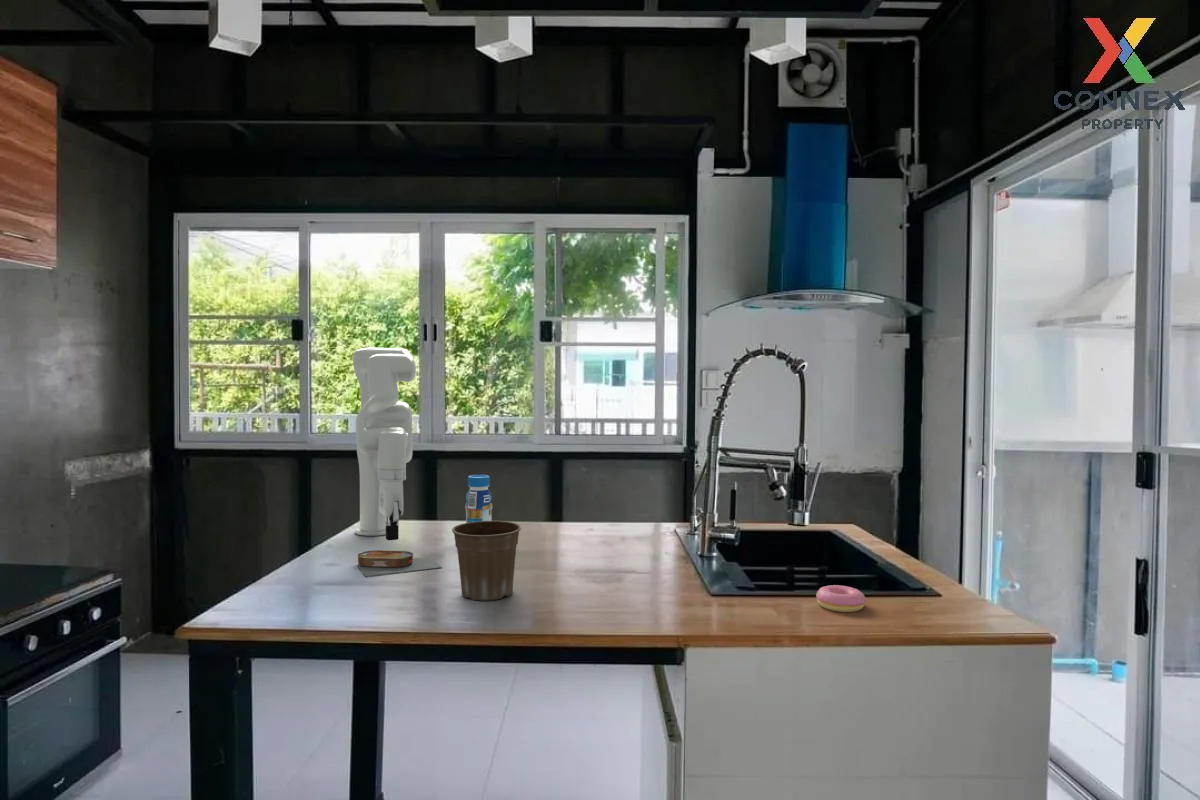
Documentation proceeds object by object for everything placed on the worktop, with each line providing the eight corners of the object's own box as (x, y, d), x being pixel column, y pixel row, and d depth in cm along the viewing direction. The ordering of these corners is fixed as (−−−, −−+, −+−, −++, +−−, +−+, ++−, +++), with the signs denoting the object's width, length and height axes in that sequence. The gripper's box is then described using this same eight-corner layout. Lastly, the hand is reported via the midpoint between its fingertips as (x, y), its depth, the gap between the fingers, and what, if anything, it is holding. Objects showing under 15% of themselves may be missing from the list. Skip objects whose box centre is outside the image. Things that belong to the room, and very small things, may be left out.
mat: (357, 565, 204) (357, 564, 204) (429, 557, 214) (429, 556, 214) (365, 577, 194) (365, 575, 194) (441, 568, 203) (441, 566, 203)
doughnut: (833, 616, 168) (833, 597, 167) (806, 601, 178) (806, 584, 178) (875, 612, 171) (875, 594, 170) (846, 597, 181) (846, 580, 181)
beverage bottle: (462, 537, 239) (462, 474, 238) (487, 535, 243) (488, 473, 242) (469, 543, 232) (469, 478, 231) (495, 540, 235) (495, 477, 234)
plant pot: (454, 606, 171) (454, 536, 170) (449, 586, 186) (449, 522, 186) (525, 601, 175) (526, 532, 174) (514, 582, 191) (515, 519, 190)
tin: (417, 551, 209) (406, 556, 200) (417, 562, 209) (406, 568, 200) (365, 549, 210) (352, 555, 202) (365, 561, 210) (352, 566, 202)
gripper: (372, 471, 215) (372, 535, 216) (384, 479, 202) (384, 546, 203) (399, 470, 218) (399, 532, 219) (412, 477, 205) (412, 544, 206)
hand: (392, 539), depth 211 cm, fingers closed
